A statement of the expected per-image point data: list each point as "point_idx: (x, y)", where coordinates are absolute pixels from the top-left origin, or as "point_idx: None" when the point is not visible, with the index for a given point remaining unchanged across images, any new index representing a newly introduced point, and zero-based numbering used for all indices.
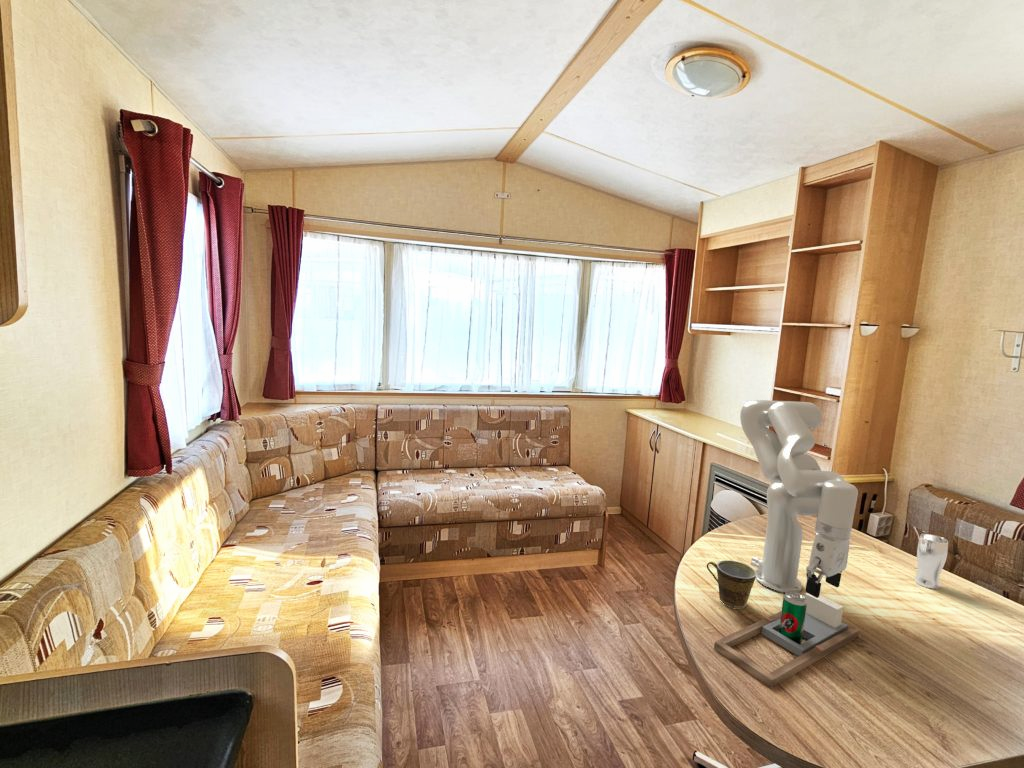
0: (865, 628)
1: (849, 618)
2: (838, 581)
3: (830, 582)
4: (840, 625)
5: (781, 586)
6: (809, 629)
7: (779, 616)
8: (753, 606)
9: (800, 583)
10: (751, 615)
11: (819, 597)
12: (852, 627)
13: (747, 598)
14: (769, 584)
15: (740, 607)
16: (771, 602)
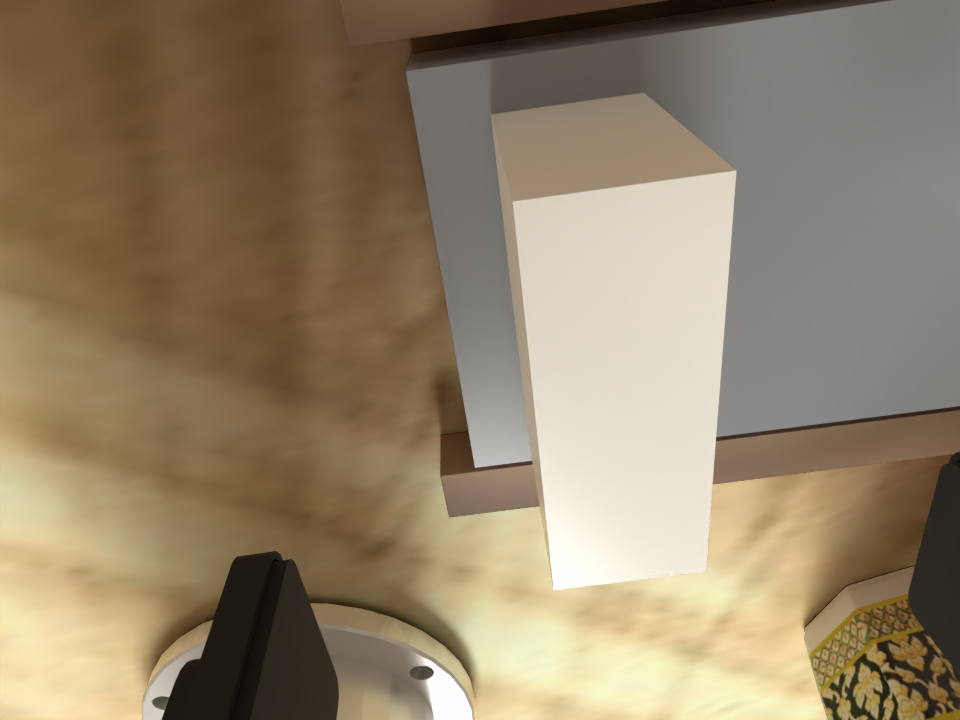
0: (78, 34)
1: (115, 232)
2: (251, 664)
3: (317, 663)
4: (515, 103)
5: (387, 672)
6: (956, 179)
7: (912, 425)
8: (806, 567)
9: (176, 668)
10: None
11: (620, 475)
12: (361, 32)
13: (914, 635)
14: (456, 701)
15: None
16: None
